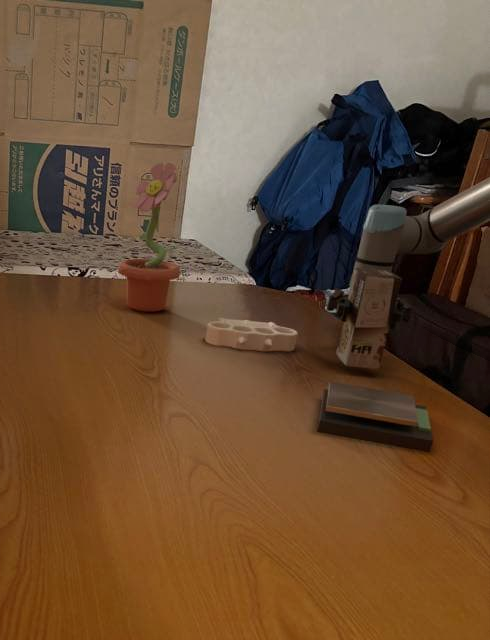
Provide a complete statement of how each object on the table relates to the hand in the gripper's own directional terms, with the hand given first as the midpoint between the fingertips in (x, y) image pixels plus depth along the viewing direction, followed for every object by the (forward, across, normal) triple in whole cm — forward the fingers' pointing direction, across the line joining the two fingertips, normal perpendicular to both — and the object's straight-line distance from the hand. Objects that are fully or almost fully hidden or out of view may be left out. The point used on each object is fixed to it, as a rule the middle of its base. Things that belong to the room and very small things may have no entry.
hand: (369, 317), depth 137 cm
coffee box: (-5, 0, -9) cm, 11 cm away
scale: (+25, -3, -11) cm, 27 cm away
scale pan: (+25, -2, -8) cm, 27 cm away
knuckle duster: (-12, +21, -11) cm, 27 cm away
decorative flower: (-28, +47, -11) cm, 56 cm away
